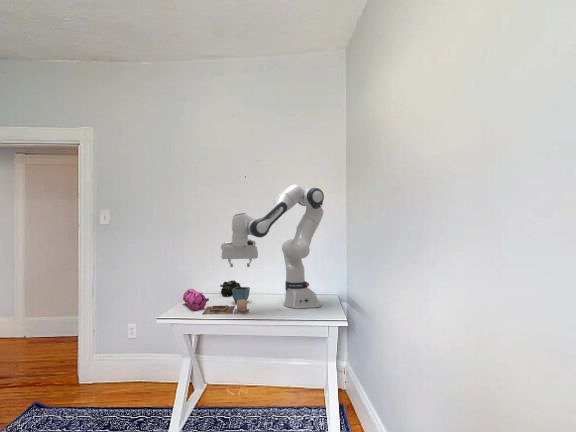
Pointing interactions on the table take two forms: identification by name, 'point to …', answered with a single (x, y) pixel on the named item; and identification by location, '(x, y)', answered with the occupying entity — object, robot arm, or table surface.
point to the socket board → (219, 309)
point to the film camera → (228, 288)
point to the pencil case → (195, 299)
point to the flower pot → (240, 293)
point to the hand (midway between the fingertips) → (240, 266)
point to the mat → (240, 312)
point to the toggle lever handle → (241, 305)
